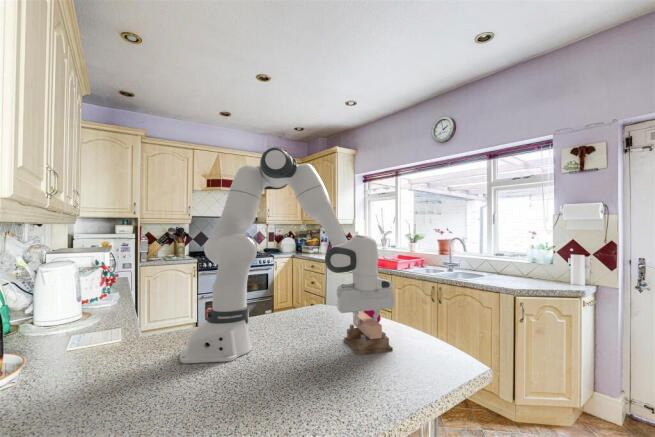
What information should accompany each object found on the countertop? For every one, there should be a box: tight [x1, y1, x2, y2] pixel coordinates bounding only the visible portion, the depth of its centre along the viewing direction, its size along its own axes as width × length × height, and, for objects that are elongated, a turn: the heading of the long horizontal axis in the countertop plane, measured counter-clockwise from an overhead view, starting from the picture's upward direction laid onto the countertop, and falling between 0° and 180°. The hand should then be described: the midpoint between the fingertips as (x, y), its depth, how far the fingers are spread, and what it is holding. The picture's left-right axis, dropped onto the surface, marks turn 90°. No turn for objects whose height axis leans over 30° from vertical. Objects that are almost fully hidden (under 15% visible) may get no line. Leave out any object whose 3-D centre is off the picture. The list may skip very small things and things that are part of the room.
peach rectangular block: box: [352, 311, 383, 339], centre depth 108 cm, size 4×16×4 cm, turn 15°
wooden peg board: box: [343, 324, 394, 356], centre depth 108 cm, size 12×14×6 cm
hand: (366, 323), depth 108 cm, fingers open, 4 cm apart
